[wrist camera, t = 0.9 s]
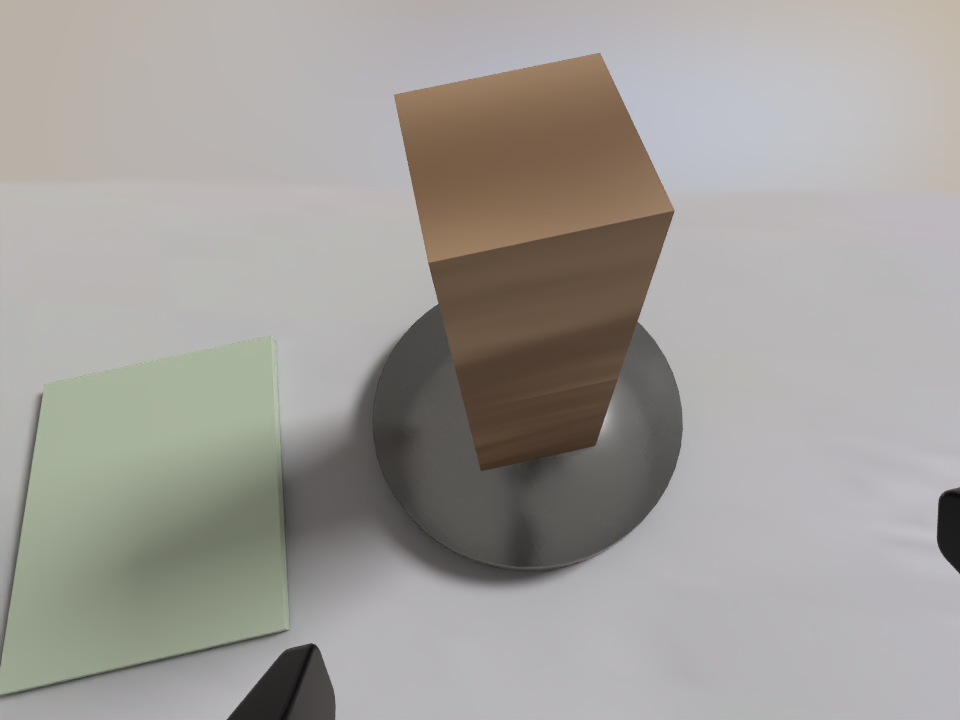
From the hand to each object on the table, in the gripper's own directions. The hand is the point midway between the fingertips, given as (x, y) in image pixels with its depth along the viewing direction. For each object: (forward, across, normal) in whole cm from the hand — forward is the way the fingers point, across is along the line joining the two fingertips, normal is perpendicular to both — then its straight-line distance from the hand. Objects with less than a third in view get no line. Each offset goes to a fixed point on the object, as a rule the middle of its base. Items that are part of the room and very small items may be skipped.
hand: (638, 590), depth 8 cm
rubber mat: (+15, +14, +4) cm, 21 cm away
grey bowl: (+15, 0, +4) cm, 16 cm away
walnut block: (+14, 0, +3) cm, 15 cm away
